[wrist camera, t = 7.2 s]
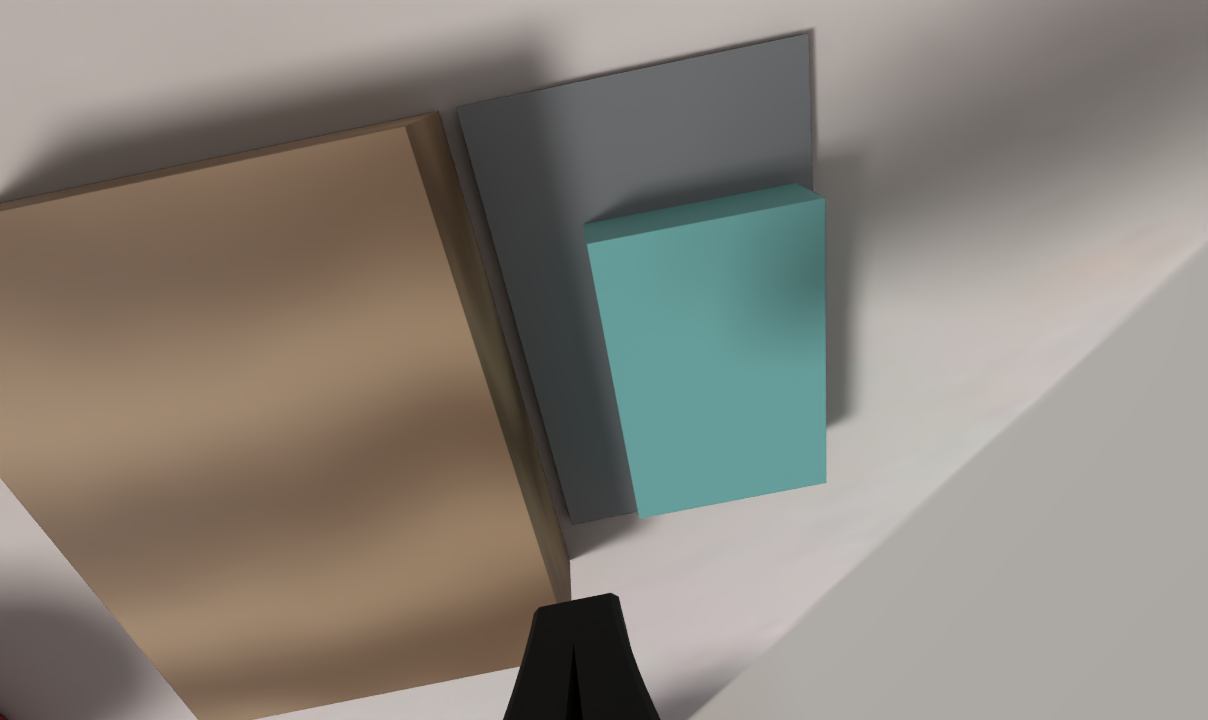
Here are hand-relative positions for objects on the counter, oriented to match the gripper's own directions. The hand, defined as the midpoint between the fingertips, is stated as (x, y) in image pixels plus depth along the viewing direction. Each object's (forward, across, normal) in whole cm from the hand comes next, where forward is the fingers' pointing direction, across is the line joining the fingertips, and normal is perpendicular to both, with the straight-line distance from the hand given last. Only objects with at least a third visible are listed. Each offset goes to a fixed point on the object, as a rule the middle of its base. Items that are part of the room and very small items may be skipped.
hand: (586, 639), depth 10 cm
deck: (+10, +8, 0) cm, 13 cm away
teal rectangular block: (+8, -4, 0) cm, 9 cm away
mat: (+10, -3, -1) cm, 10 cm away
